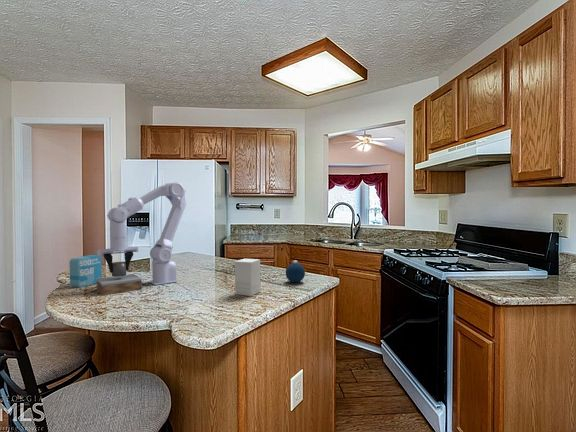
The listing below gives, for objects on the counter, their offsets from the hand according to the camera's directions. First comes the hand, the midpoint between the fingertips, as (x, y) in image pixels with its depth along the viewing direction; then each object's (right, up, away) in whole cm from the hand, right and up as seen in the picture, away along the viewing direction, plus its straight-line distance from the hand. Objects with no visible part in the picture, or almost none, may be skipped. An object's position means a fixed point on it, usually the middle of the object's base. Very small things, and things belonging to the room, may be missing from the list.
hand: (118, 271), depth 135 cm
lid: (0, -4, 0) cm, 4 cm away
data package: (-18, -7, +9) cm, 21 cm away
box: (0, -7, 0) cm, 7 cm away
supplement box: (+53, -7, -7) cm, 54 cm away
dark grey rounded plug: (0, -2, 0) cm, 2 cm away
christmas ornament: (+71, -7, +10) cm, 72 cm away
